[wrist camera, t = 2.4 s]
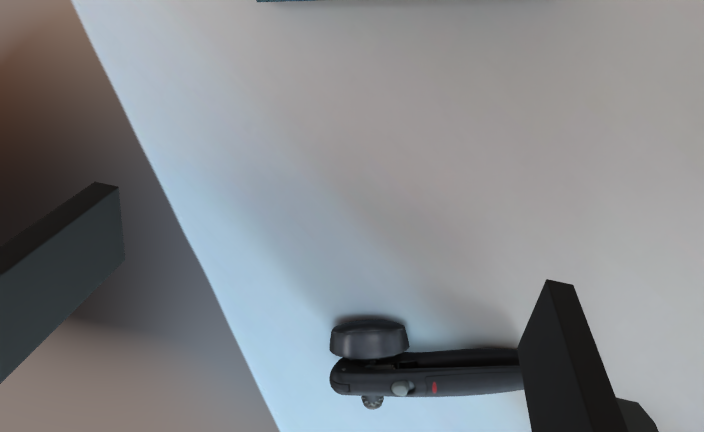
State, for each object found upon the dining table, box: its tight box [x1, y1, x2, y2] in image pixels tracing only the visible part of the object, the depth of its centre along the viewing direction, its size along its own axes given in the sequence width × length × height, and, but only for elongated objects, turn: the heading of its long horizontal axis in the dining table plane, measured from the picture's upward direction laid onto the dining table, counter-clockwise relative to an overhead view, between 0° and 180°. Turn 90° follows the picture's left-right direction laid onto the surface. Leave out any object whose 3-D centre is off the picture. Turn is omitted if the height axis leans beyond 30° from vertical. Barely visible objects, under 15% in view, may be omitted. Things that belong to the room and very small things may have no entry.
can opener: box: [330, 320, 524, 410], centre depth 43 cm, size 18×7×6 cm, turn 91°
